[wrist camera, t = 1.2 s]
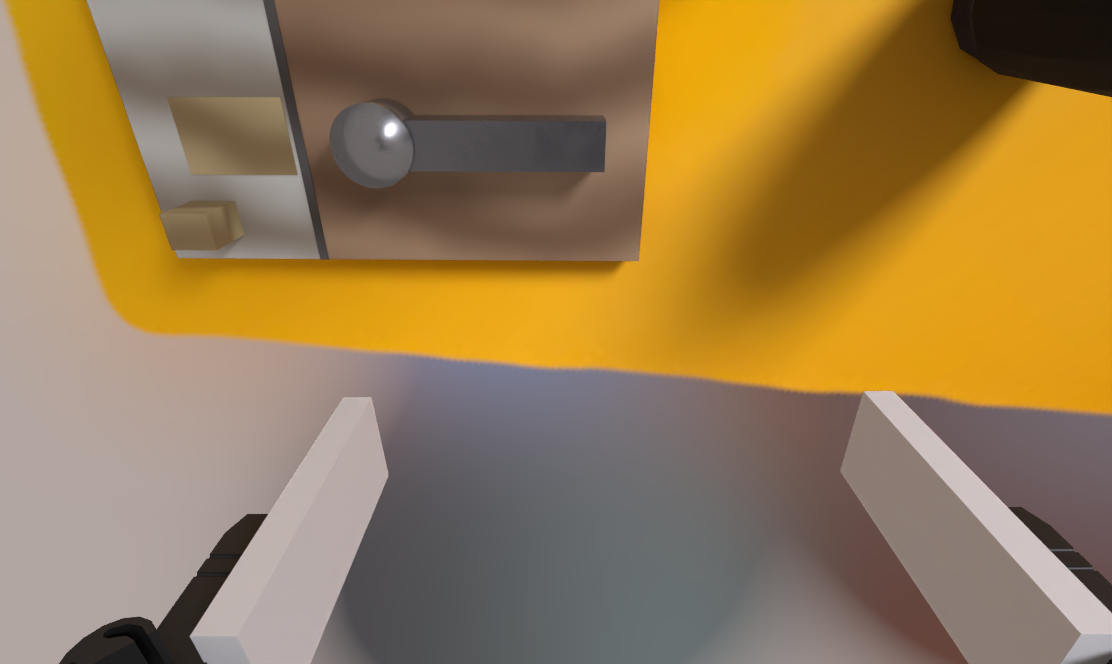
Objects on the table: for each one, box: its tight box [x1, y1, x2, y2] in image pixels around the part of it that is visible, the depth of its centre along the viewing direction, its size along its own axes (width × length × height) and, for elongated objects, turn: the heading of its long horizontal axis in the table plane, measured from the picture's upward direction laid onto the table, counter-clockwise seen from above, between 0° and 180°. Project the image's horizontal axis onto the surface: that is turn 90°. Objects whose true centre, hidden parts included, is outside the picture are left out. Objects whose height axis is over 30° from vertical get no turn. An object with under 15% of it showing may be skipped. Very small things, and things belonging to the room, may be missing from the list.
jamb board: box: [87, 0, 659, 261], centre depth 27 cm, size 20×28×5 cm
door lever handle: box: [329, 98, 607, 189], centre depth 27 cm, size 14×4×3 cm, turn 90°
